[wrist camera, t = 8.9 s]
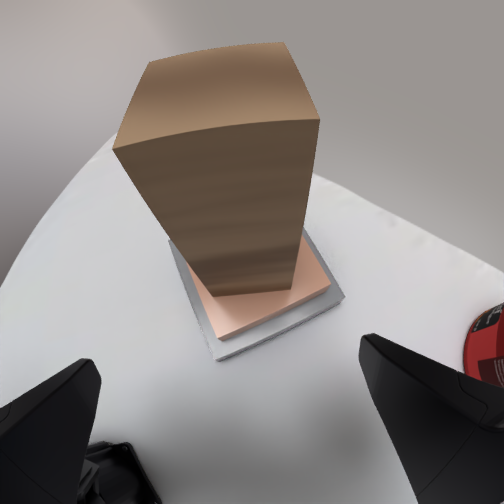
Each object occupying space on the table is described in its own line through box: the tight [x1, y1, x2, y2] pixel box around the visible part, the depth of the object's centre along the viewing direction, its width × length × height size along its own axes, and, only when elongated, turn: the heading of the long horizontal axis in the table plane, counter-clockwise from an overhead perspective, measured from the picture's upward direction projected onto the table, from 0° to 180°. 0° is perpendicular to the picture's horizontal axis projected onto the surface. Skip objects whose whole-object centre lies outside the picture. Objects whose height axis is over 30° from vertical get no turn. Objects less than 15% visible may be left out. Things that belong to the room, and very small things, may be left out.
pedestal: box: [168, 227, 345, 361], centre depth 20 cm, size 10×10×4 cm
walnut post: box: [112, 42, 320, 297], centre depth 13 cm, size 5×5×13 cm
